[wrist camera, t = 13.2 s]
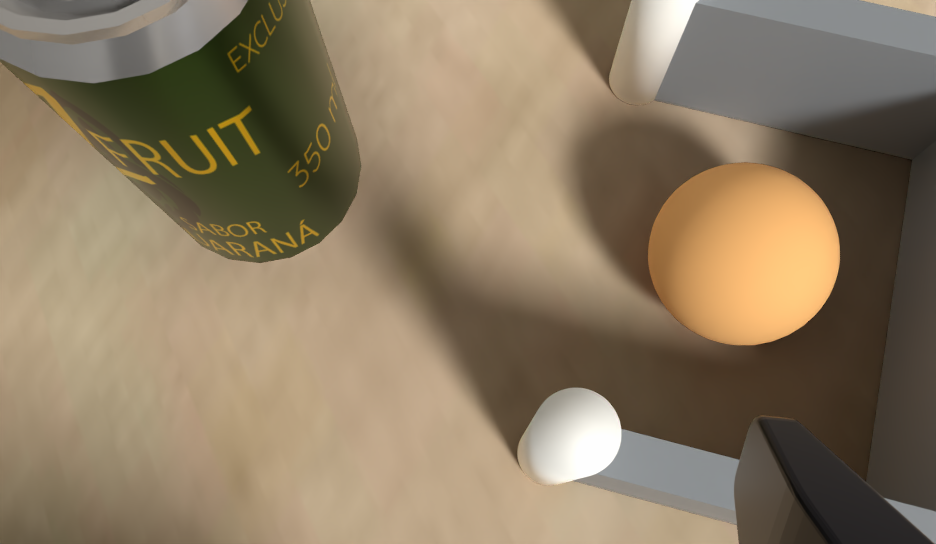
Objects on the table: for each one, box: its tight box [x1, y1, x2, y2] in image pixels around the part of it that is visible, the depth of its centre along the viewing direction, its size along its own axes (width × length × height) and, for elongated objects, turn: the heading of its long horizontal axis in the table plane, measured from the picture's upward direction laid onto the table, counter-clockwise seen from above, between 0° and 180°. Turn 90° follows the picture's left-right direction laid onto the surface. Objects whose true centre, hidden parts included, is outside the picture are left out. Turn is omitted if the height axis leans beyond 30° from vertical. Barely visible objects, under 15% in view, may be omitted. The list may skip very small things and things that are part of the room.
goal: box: [517, 0, 936, 544], centre depth 20 cm, size 13×10×7 cm
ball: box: [648, 162, 840, 345], centre depth 21 cm, size 4×4×4 cm
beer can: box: [0, 0, 361, 263], centre depth 19 cm, size 5×5×12 cm
